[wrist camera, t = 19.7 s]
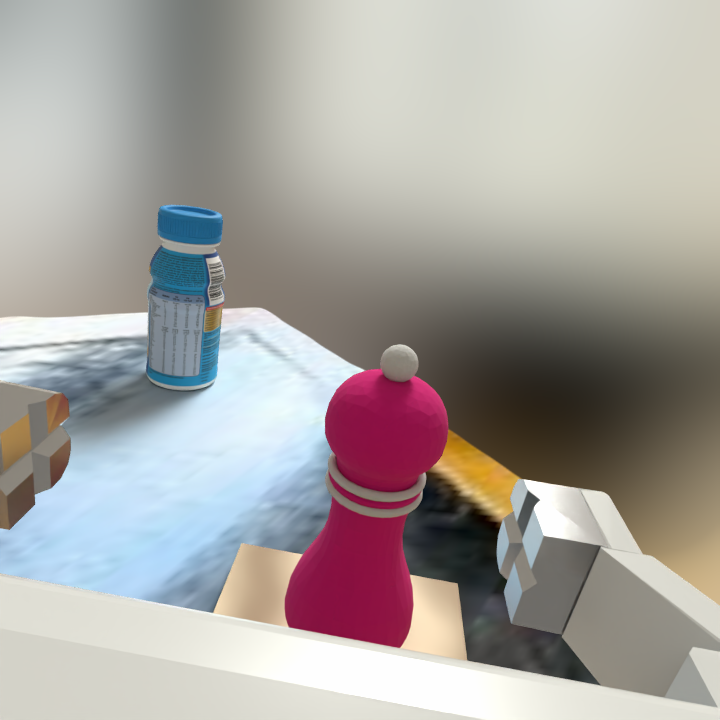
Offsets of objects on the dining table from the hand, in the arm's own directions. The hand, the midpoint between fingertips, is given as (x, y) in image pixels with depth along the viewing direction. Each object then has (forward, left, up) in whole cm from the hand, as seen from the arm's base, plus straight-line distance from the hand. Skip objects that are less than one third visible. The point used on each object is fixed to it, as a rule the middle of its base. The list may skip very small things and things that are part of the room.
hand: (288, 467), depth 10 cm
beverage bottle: (-20, +52, -24) cm, 61 cm away
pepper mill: (+3, +16, -23) cm, 28 cm away
